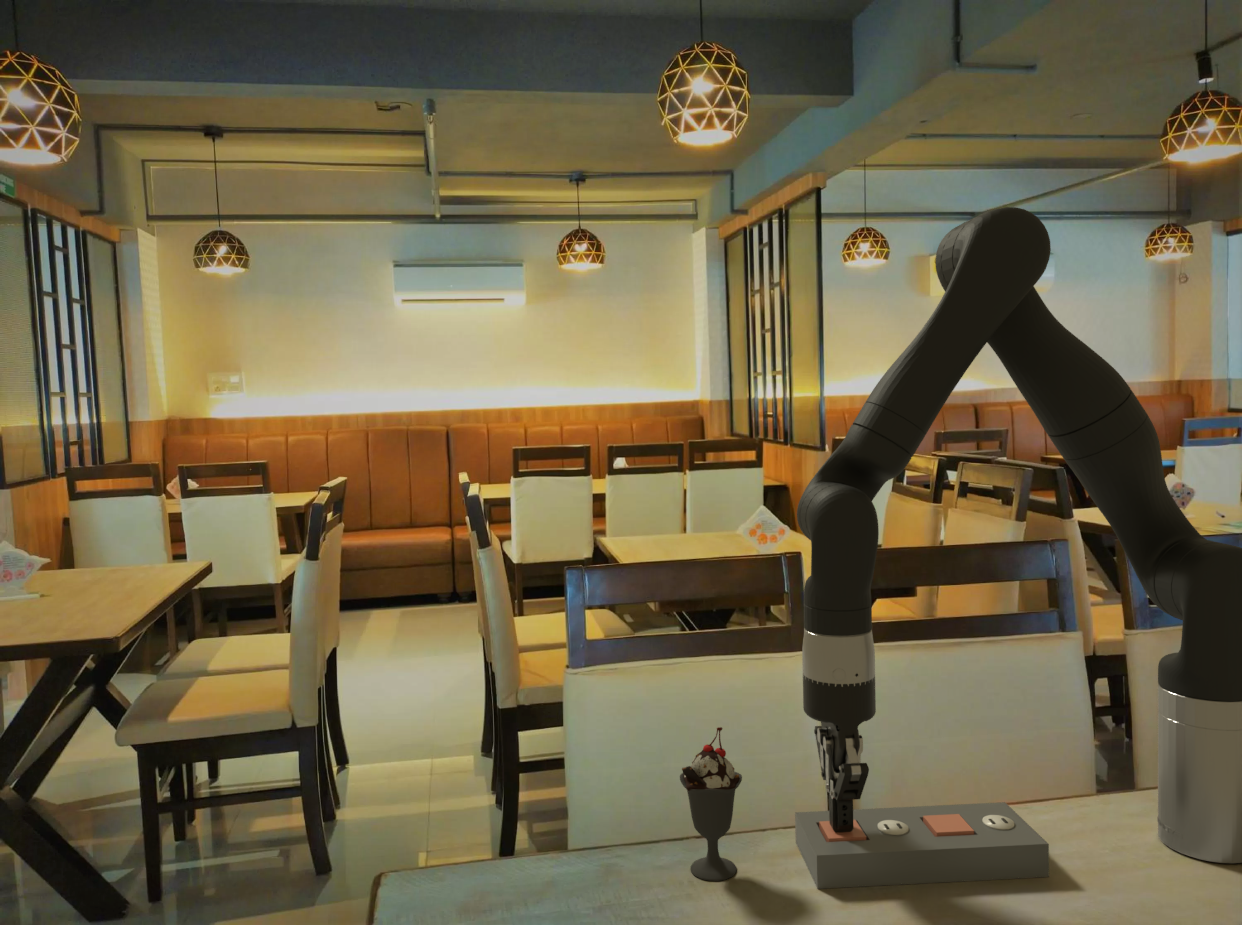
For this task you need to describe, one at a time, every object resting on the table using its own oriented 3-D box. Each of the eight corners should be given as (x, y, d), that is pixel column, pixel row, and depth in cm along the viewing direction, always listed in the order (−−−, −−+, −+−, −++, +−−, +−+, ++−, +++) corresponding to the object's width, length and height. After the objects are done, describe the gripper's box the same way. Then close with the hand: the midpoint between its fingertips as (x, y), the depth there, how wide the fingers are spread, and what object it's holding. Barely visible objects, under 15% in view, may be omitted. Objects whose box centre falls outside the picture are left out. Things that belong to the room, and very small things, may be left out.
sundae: (743, 854, 102) (739, 721, 101) (745, 886, 95) (741, 743, 94) (683, 853, 102) (679, 721, 101) (681, 885, 96) (677, 743, 95)
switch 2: (959, 836, 101) (958, 814, 101) (974, 853, 97) (974, 830, 97) (923, 837, 101) (923, 815, 101) (937, 855, 97) (936, 832, 97)
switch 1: (855, 841, 101) (855, 819, 101) (866, 859, 97) (866, 836, 97) (819, 843, 101) (819, 821, 101) (829, 861, 97) (828, 838, 97)
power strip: (1005, 832, 105) (1004, 799, 105) (1048, 876, 95) (1048, 840, 95) (795, 842, 104) (794, 809, 104) (817, 888, 94) (816, 852, 94)
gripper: (894, 688, 91) (896, 857, 92) (855, 652, 105) (858, 801, 106) (819, 691, 91) (822, 861, 92) (790, 655, 104) (793, 804, 105)
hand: (841, 829), depth 99 cm, fingers closed
